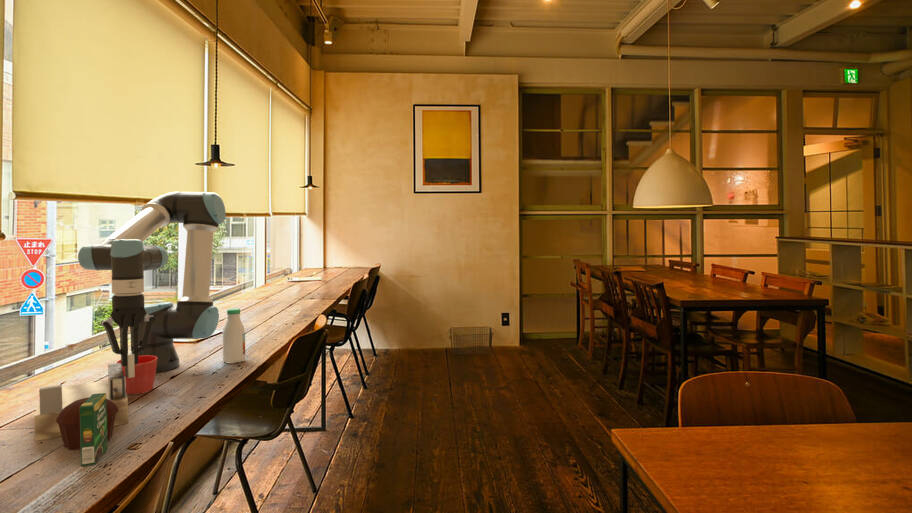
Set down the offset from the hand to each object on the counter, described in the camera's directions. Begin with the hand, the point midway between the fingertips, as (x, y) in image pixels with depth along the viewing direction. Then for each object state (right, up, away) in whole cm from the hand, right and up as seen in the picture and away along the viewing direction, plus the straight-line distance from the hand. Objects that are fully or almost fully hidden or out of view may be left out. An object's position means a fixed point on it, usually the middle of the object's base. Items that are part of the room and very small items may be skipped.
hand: (130, 376), depth 136 cm
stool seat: (-6, -8, -9) cm, 14 cm away
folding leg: (0, -2, -6) cm, 6 cm away
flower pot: (-6, -8, +12) cm, 15 cm away
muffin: (+7, -9, -24) cm, 27 cm away
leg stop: (-4, -3, -22) cm, 22 cm away
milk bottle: (+8, -6, +46) cm, 47 cm away
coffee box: (+14, -10, -32) cm, 36 cm away
